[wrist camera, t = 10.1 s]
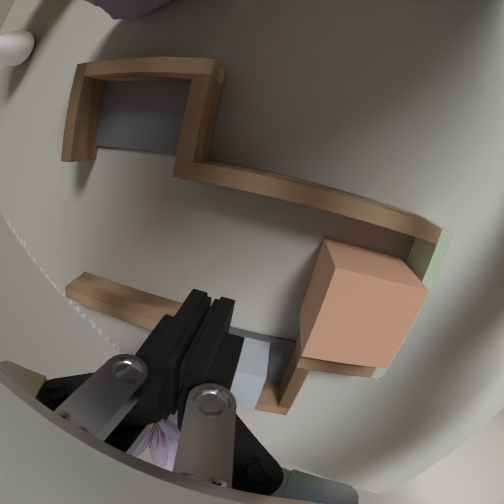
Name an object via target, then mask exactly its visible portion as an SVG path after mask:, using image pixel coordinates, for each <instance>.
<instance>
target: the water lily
mask: <svg viewBox="0 0 504 504" xmlns="http://www.w3.org/2000/svg"><path fill="white" fill-rule="evenodd" d="M105 363H106V362H105V361H104V360H101V366H102V365H103V364H105ZM177 414H178V411H177V412H176V414H175V415H172V414H170V415H169V417H168V419H167V420H164V419H161V421H160V422H156V423H153V425H152V427H151V429H150V431H149V432H148V433H147V435H146V436H145V437H144V439H143V440H142V441H141V443H140V444H139V445H138V447H137V448H136V449H135V451H134V452H133V453H132V456H134V457H137V456H138V455H140V454H141V453H142V452H143V451H144V450H145V449H146V448H147V447H148V445H149V443H150V446H149V448H150V451H151V456H152V459H153V460H154V462H155V463H156V465H157V466H158V467H161V468H164V469H166V470H169V471H172V472H173V466H174V461H175V456H176V451H177V446H178V441H179V436H180V431H179V429H178V428H177ZM150 441H151V442H150Z"/></svg>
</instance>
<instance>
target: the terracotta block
mask: <svg viewBox="0 0 504 504" xmlns="http://www.w3.org/2000/svg"><path fill="white" fill-rule="evenodd" d="M428 291H429V290H428V289H427V288H426V287H425V285H424V284H423V283H422V282H421V281H420V280H419V278H418V277H417V276H416V275H415V274H414V273H413V272H412V271H411V269H410V268H409V267H408V266H407V265H406V264H405V263H404V262H403V261H402V260H401V258H397V257H394V256H390V255H386V254H383V253H379V252H376V251H372V250H368V249H365V248H361V247H357V246H353V245H350V244H346V243H342V242H338V241H334V240H331V239H327V238H324V239H323V242H322V245H321V249H320V252H319V255H318V258H317V261H316V264H315V268H314V271H313V274H312V277H311V280H310V283H309V286H308V289H307V292H306V295H305V298H304V301H303V303H302V306H301V309H300V312H299V318H300V338H301V356H303V357H309V358H314V359H320V360H326V361H333V362H339V363H346V364H353V365H361V366H369V367H378V368H387V366H388V365H389V363H390V361H391V360H392V358H393V357H394V355H395V353H396V352H397V350H398V348H399V347H400V345H401V343H402V341H403V340H404V338H405V336H406V334H407V333H408V331H409V329H410V327H411V325H412V323H413V322H414V320H415V318H416V316H417V314H418V312H419V310H420V308H421V306H422V304H423V302H424V300H425V298H426V296H427V293H428Z"/></svg>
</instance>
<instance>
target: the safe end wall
mask: <svg viewBox="0 0 504 504" xmlns="http://www.w3.org/2000/svg"><path fill="white" fill-rule="evenodd" d="M423 218H424V217H423ZM425 219H427V218H425ZM427 220H428V221H430V222H432V223H433V224H435V225H437V226H438V227H440V228H441V229H442V232H441V235H440V237H439V240H438V243H437V244H435V243H432V242H429V241H426V240H423V239H420V238H417V237H415V239H414V242H413V245H412V248H411V250H410V253H409V256H408V258H407V261H406V263H405V264H406V265H407V266H408V267H409V268H410V269H411V271H412V272H413V273H414V274H415V275H416V276H417V277H418V278H419V280H420V281H421V282H422V283H423V284H424V285H425V287H426V288H427V289H428V290H429V291H428V293H427V296H426V298H425V300H424V302H423V304H422V306H421V308H420V310H419V312H418V314H417V316H416V318H415V320H414V322H413V323H412V325H411V327H410V329H409V331H408V333H407V334H406V336H405V338H404V340H403V341H402V343H401V345H400V347H399V348H398V350H397V352H396V353H395V355H394V357H393V358H392V360H391V361H390V363H389V365H388V366H387V368H378V367H376V370H375V371H374V373H373V374H372V376H371V377H370V378H382V376H383V375H384V373H385V372H386V370H387V369H388V367H389V366H390V364H391V363H392V361H393V359H394V358H395V356H396V354H397V353H398V351H399V349H400V348H401V346H402V344H403V343H404V341H405V339H406V337H407V336H408V334H409V332H410V330H411V328H412V327H413V325H414V323H415V321H416V319H417V317H418V315H419V313H420V311H421V309H422V307H423V305H424V303H425V301H426V299H427V297H428V295H429V293H430V291H431V288H432V286H433V284H434V282H435V279H436V277H437V275H438V272H439V270H440V268H441V265H442V263H443V260H444V258H445V255H446V253H447V250H448V247H449V245H450V242H451V239H452V236H453V233H452V232H450V231H449V230H447V229H446V228H444V227H442V226H441V225H439V224H437V223H436V222H434V221H432V220H429V219H427Z"/></svg>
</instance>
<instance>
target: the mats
mask: <svg viewBox="0 0 504 504" xmlns="http://www.w3.org/2000/svg"><path fill="white" fill-rule="evenodd" d="M190 86H191V82H176V81H113V82H107V84H106V88H105V93H104V98H103V103H102V108H101V113H100V119H99V125H98V132H97V139H96V146H106V147H117V148H127V149H136V150H144V151H152V152H160V153H167V154H174V155H177V150H178V144H179V139H180V133H181V128H182V123H183V118H184V113H185V108H186V104H187V99H188V95H189V90H190ZM229 333H231V334H235V335H239V336H243V337H247V338H252V339H256V340H260V341H265V342H270V348H269V357H268V366H267V375H266V380H265V381H270V382H275V383H280V381H281V379H282V376H283V374H284V372H285V369H286V367H287V364H288V362H289V360H290V357H291V355H292V352H293V350H294V347H295V345H296V341H291V340H286V339H282V338H277V337H272V336H268V335H263V334H259V333H254V332H250V331H246V330H242V329H238V328H233V327H230V328H229Z"/></svg>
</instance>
